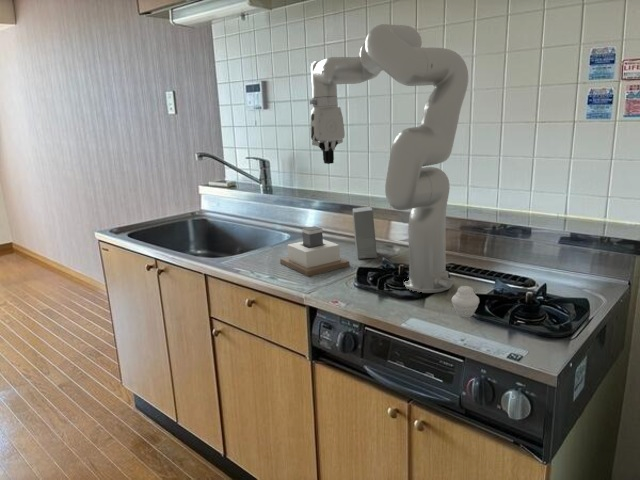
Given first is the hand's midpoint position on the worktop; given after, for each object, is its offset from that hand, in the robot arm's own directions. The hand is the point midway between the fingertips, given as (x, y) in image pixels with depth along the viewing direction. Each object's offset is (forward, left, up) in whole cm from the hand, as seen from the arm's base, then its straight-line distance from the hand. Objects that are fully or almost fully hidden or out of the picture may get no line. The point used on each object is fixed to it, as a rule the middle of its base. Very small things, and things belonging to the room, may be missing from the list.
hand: (328, 163), depth 160 cm
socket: (-2, +9, -31) cm, 32 cm away
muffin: (-60, +3, -31) cm, 68 cm away
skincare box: (-5, -9, -31) cm, 33 cm away
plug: (-2, +9, -28) cm, 30 cm away
